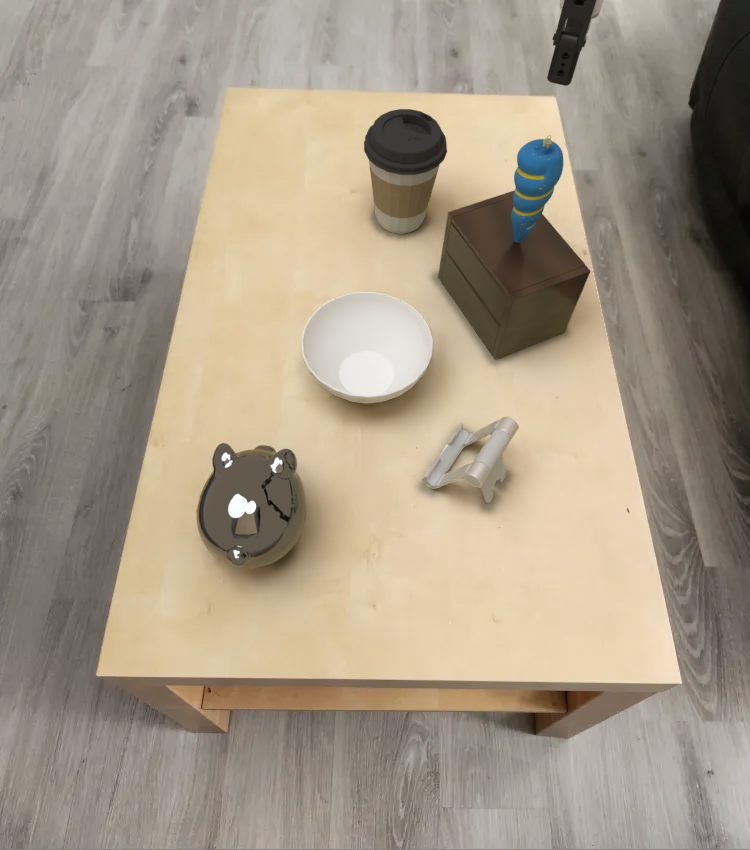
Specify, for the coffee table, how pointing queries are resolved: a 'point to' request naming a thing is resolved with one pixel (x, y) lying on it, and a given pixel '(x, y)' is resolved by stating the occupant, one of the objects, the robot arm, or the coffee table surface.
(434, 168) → the coffee cup
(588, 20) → the robot arm
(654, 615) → the coffee table surface
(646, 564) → the coffee table surface
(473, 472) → the tablet stand
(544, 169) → the ornament
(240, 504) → the piggy bank
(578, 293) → the wooden drawer cabinet
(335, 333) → the bowl
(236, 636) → the coffee table surface
